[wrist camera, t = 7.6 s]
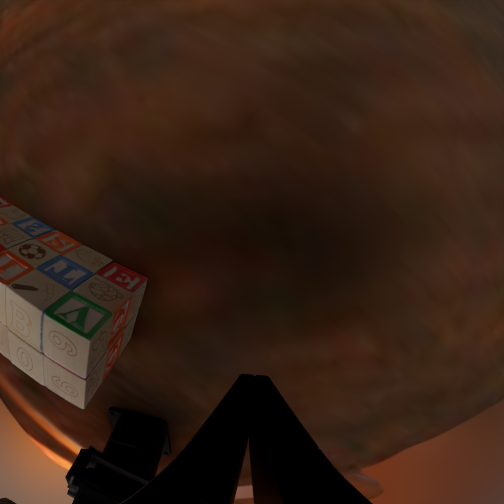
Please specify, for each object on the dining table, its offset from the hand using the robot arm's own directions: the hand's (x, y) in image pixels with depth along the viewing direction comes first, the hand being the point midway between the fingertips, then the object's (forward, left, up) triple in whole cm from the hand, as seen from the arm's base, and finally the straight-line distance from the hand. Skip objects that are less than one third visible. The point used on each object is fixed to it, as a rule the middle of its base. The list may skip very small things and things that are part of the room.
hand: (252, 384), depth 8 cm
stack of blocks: (-2, +19, -13) cm, 22 cm away
